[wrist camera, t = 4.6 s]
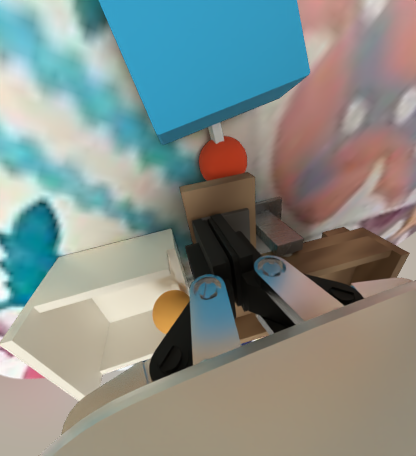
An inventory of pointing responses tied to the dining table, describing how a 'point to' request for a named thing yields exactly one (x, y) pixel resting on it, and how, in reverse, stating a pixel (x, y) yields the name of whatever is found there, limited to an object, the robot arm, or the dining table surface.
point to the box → (97, 311)
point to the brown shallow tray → (302, 260)
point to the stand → (274, 230)
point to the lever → (208, 65)
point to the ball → (169, 309)
